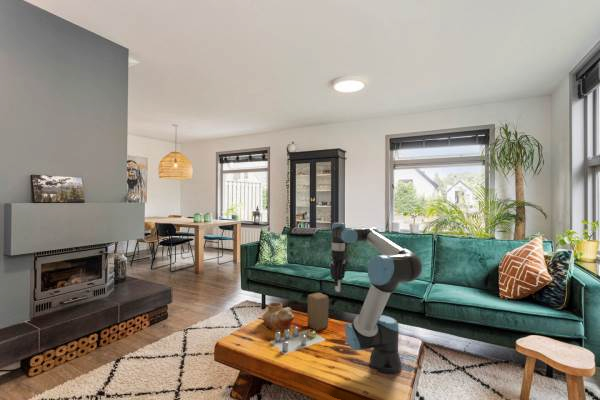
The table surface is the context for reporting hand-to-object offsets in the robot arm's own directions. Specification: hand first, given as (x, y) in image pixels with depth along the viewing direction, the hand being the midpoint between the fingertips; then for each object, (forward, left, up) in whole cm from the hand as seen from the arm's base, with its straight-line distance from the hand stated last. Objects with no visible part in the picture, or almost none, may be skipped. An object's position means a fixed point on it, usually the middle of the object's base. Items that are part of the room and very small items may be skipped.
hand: (337, 291), depth 166 cm
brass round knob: (+12, +10, -28) cm, 32 cm away
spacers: (+12, +24, -28) cm, 39 cm away
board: (+12, +19, -29) cm, 37 cm away
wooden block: (+22, -3, -30) cm, 37 cm away
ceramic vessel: (+34, +19, -30) cm, 49 cm away
